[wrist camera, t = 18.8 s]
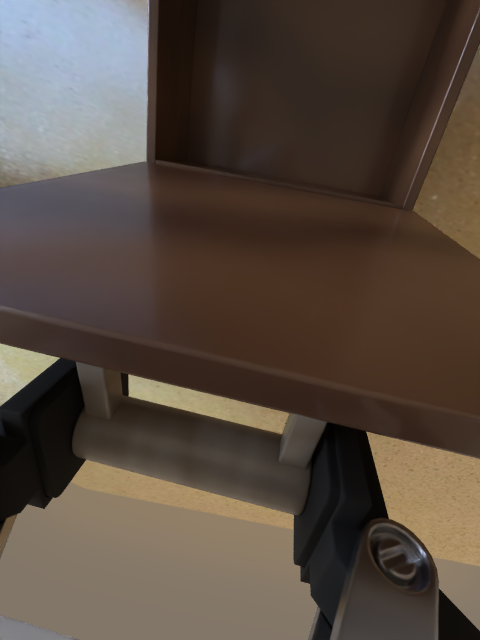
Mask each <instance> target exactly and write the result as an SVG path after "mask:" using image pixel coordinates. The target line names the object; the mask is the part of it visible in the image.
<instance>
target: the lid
mask: <svg viewBox="0 0 480 640" xmlns="http://www.w3.org/2000/svg"><path fill="white" fill-rule="evenodd" d="M0 343H1V344H5V345H9V346H13V347H17V348H21V349H26V350H30V351H34V352H38V353H42V354H46V355H51V356H55V357H59V358H63V359H67V360H71V361H75V362H76V366H77V371H78V376H79V381H80V386H81V391H82V396H83V401H84V405H85V406H84V408H83V409H82V411H81V413H80V415H79V417H78V419H77V422H76V424H75V427H74V431H73V435H72V443H71V444H72V451H73V453H74V454H75V455H76V456H77V457H79V458H82V459H86V460H90V461H94V462H98V463H101V464H105V465H109V466H113V467H116V468H120V469H124V470H128V471H131V472H135V473H139V474H143V475H146V476H150V477H154V478H158V479H161V480H165V481H169V482H173V483H177V484H180V485H184V486H188V487H192V488H195V489H199V490H203V491H207V492H210V493H214V494H218V495H222V496H225V497H229V498H233V499H237V500H241V501H244V502H248V503H252V504H256V505H259V506H263V507H267V508H271V509H274V510H278V511H282V512H286V513H289V514H293V515H300V514H301V513H302V512H303V510H304V508H305V505H306V502H307V499H308V495H309V490H310V484H311V476H312V455H313V453H314V451H315V448H316V446H317V444H318V442H319V440H320V437H321V435H322V433H323V431H324V429H325V427H326V424H327V422H329V423H333V424H337V425H342V426H346V427H350V428H354V429H358V430H362V431H367V432H371V433H375V434H379V435H383V436H387V437H391V438H396V439H400V440H404V441H408V442H412V443H416V444H421V445H425V446H429V447H433V448H437V449H441V450H446V451H450V452H454V453H458V454H462V455H466V456H470V457H475V458H479V459H480V259H479V258H477V257H476V256H475V255H473V254H472V253H470V252H469V251H468V250H466V249H465V248H464V247H462V246H461V245H459V244H458V243H457V242H455V241H454V240H453V239H451V238H450V237H449V236H447V235H446V234H444V233H443V232H442V231H440V230H439V229H438V228H436V227H435V226H433V225H432V224H431V223H429V222H428V221H427V220H425V219H424V218H422V217H421V216H420V215H418V214H417V213H416V212H413V211H408V210H403V209H397V208H392V207H386V206H381V205H375V204H370V203H365V202H359V201H354V200H348V199H343V198H338V197H332V196H327V195H321V194H316V193H310V192H305V191H300V190H294V189H289V188H283V187H278V186H272V185H267V184H262V183H256V182H251V181H245V180H240V179H234V178H229V177H224V176H218V175H213V174H207V173H202V172H196V171H191V170H186V169H180V168H175V167H169V166H164V165H158V164H153V163H148V162H139V163H134V164H128V165H123V166H117V167H112V168H106V169H101V170H95V171H90V172H85V173H79V174H74V175H68V176H63V177H57V178H52V179H47V180H41V181H36V182H30V183H25V184H19V185H14V186H8V187H3V188H0ZM120 372H121V373H125V374H130V375H134V376H138V377H142V378H146V379H150V380H154V381H159V382H163V383H167V384H171V385H175V386H179V387H184V388H188V389H192V390H196V391H200V392H204V393H209V394H213V395H217V396H221V397H225V398H229V399H233V400H238V401H242V402H246V403H250V404H254V405H258V406H263V407H267V408H271V409H275V410H279V411H283V412H288V413H289V416H288V419H287V422H286V425H285V428H284V430H283V433H282V434H279V433H275V432H270V431H266V430H262V429H258V428H254V427H250V426H246V425H242V424H238V423H234V422H230V421H226V420H222V419H218V418H214V417H210V416H206V415H201V414H197V413H193V412H189V411H185V410H181V409H177V408H173V407H169V406H165V405H161V404H157V403H153V402H149V401H145V400H141V399H137V398H132V397H128V396H124V395H122V385H121V374H120Z"/></svg>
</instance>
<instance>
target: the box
mask: <svg viewBox="0 0 480 640" xmlns="http://www.w3.org/2000/svg"><path fill="white" fill-rule="evenodd" d="M479 44H480V0H148V71H147V162H148V163H153V164H158V165H164V166H169V167H175V168H180V169H186V170H191V171H196V172H202V173H207V174H213V175H218V176H224V177H229V178H234V179H240V180H245V181H251V182H256V183H262V184H267V185H272V186H278V187H283V188H289V189H294V190H300V191H305V192H310V193H316V194H321V195H327V196H332V197H338V198H343V199H348V200H354V201H359V202H365V203H370V204H375V205H381V206H386V207H392V208H397V209H403V210H408V211H412V210H413V207H414V205H415V202H416V200H417V197H418V195H419V192H420V190H421V187H422V185H423V183H424V180H425V178H426V175H427V173H428V170H429V168H430V165H431V163H432V160H433V158H434V155H435V153H436V150H437V148H438V145H439V143H440V140H441V138H442V135H443V133H444V130H445V128H446V126H447V123H448V121H449V118H450V116H451V113H452V111H453V108H454V106H455V103H456V101H457V98H458V96H459V93H460V91H461V88H462V86H463V83H464V81H465V78H466V76H467V73H468V71H469V69H470V66H471V64H472V61H473V59H474V56H475V54H476V51H477V49H478V46H479Z"/></svg>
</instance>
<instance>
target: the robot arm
mask: <svg viewBox="0 0 480 640" xmlns="http://www.w3.org/2000/svg"><path fill="white" fill-rule="evenodd" d="M120 374H121V385H122V395H124V396H128V395H129V390H128V374H125V373H121V372H120ZM84 406H85V405H84V401H83V396H82V391H81V386H80V381H79V376H78V371H77V366H76V362H75V361H71V360H67V359H63V358H60V359H58V360H57V361H56V362H55V363H54V364H52V365H51V366H50V367H49V368H47V369H46V370H45V371H44V372H42V373H41V374H40V375H39V376H37V377H36V378H35V379H34V380H32V381H31V382H30V383H29V384H27V385H26V386H25V387H24V388H23V389H21V390H20V391H19V392H18V393H16V394H15V395H14V396H13V397H11V398H10V399H9V400H8V401H6V402H5V403H4V404H3V405H1V406H0V558H1V555H2V553H3V550H4V548H5V545H6V542H7V540H8V537H9V535H10V532H11V530H12V527H13V524H14V522H15V519H16V517H17V514H18V513H21V511H22V510H23V509H24V508H25V506H26V505H27V504H29V505H32V506H36V507H39V508H43V509H45V507H46V506H47V505H48V503H49V502H50V501H51V499H52V498H53V497H54V498H57V497H58V496H60V495H61V494H62V492H63V491H64V490H65V488H66V487H67V486H68V484H69V483H70V481H71V480H72V479H73V477H74V476H75V474H76V473H77V472H78V470H79V469H80V467H81V466H82V465H83V463H84V462H85V461H86V459H82V458H79V457H77V456H76V455H75V454H74V453H73V451H72V444H71V443H72V435H73V431H74V427H75V424H76V422H77V419H78V417H79V415H80V413H81V411H82V409H83V408H84ZM294 564H295V565H299V566H301V581H302V582H305V583H309V584H310V588H311V596H312V598H313V599H314V601H315V602H316V603H317V605H318V607H317V611H316V614H315V617H314V620H313V624H312V627H311V631H310V634H309V637H308V640H480V631H479V630H478V629H477V628H476V627H475V626H474V625H473V624H472V623H471V622H470V620H469V619H468V618H467V617H466V616H465V615H464V614H463V613H462V612H461V611H460V610H459V609H458V608H457V607H456V606H455V605H454V604H453V603H452V602H451V601H450V600H449V598H447V596H446V595H445V594H444V593H443V592H442V591H441V590H440V589H439V580H438V574H437V568H436V566H435V563H434V561H433V558H432V556H431V554H430V553H429V551H428V550H427V548H426V547H425V545H424V544H423V543H422V542H421V540H420V539H419V538H418V537H417V536H416V535H415V534H414V533H413V532H412V531H410V530H409V529H408V528H406V527H405V526H404V525H402V524H400V523H398V522H396V521H393V520H391V519H389V517H388V514H387V510H386V506H385V502H384V498H383V494H382V490H381V487H380V483H379V479H378V475H377V471H376V467H375V463H374V460H373V456H372V452H371V448H370V444H369V440H368V436H367V433H366V431H362V430H358V429H354V428H350V427H346V426H342V425H337V424H333V423H329V422H327V424H326V427H325V429H324V431H323V433H322V435H321V437H320V440H319V442H318V444H317V446H316V448H315V451H314V453H313V455H312V476H311V484H310V490H309V495H308V499H307V502H306V505H305V508H304V510H303V512H302V513H301V514H300V515H294ZM0 640H79V639H76V638H73V637H70V636H66V635H63V634H60V633H57V632H54V631H50V630H47V629H44V628H41V627H38V626H34V625H31V624H28V623H25V622H22V621H18V620H15V619H12V618H8V617H6V616H3V615H0Z"/></svg>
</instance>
